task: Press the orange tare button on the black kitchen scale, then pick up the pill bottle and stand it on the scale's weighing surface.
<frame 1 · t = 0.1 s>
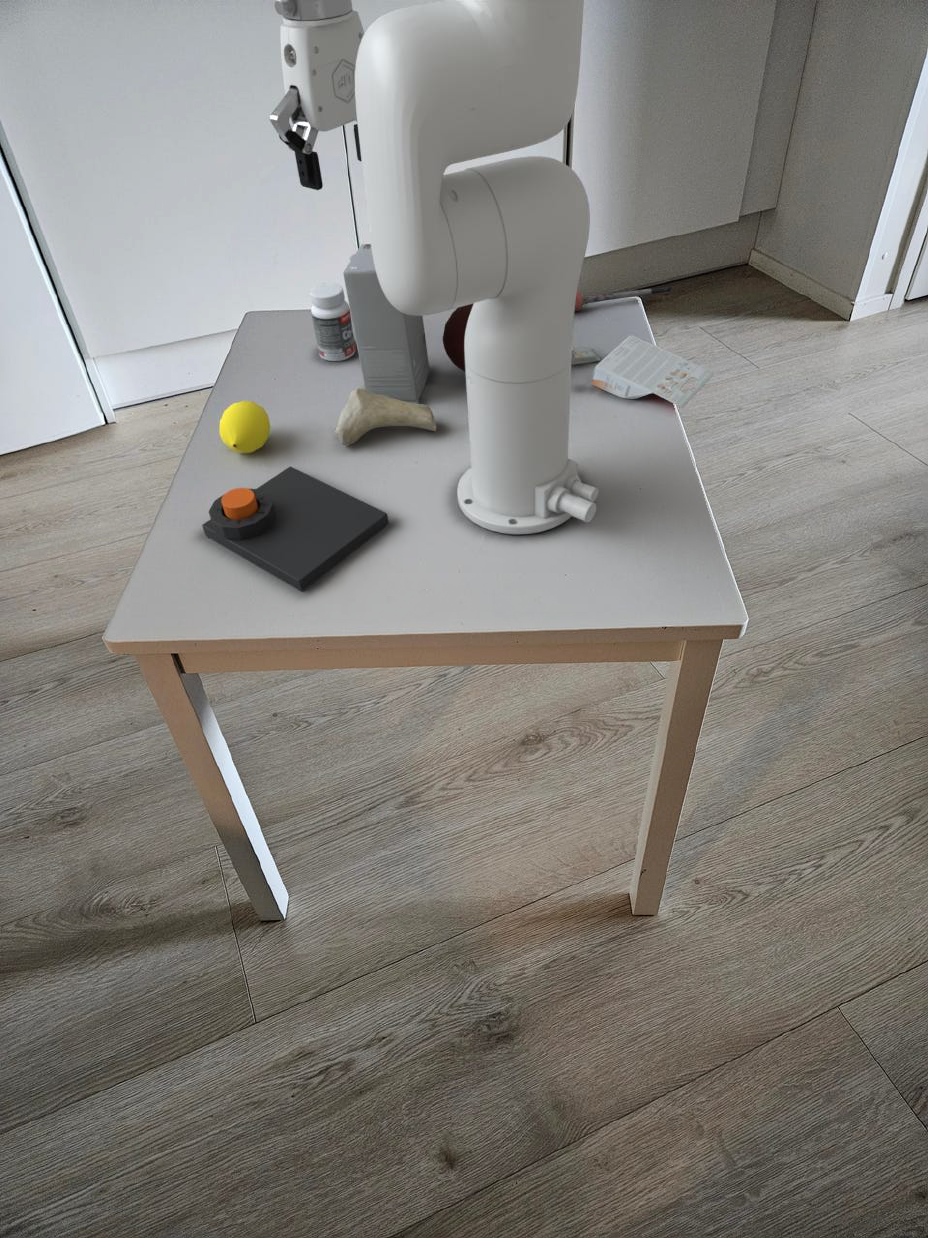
hand: (341, 174, 104), 19 cm above the table, tool pointing down, fingers open, 9 cm apart
granola bar: (568, 349, 107), point 1 cm above the table
pill bottle: (338, 354, 112), on the table
screwdriver: (589, 304, 114), point 1 cm above the table
lemon: (250, 449, 98), on the table
ink box: (608, 355, 103), point 2 cm above the table
cosmetic box: (397, 386, 105), on the table
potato: (494, 373, 106), on the table
cream lumpy piece: (389, 435, 98), on the table
tare button: (239, 503, 85), point 3 cm above the table, slide at 0.1 cm
toy horse: (575, 371, 105), on the table
scale: (297, 530, 87), on the table
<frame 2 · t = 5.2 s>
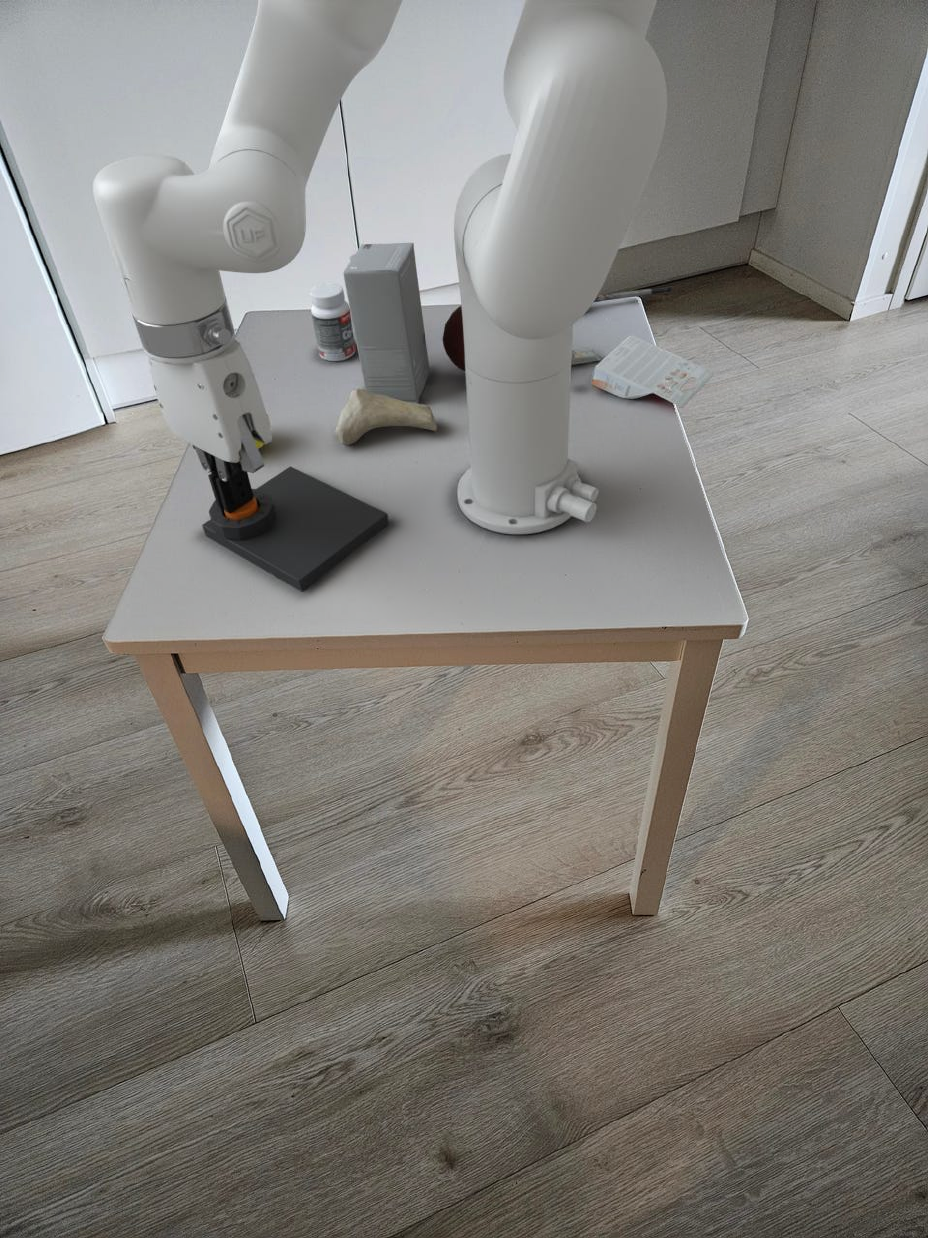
hand: (236, 503, 84), 4 cm above the table, tool pointing down, fingers closed
tare button: (241, 509, 85), point 3 cm above the table, slide at -0.6 cm, touching gripper
everything else where it was.
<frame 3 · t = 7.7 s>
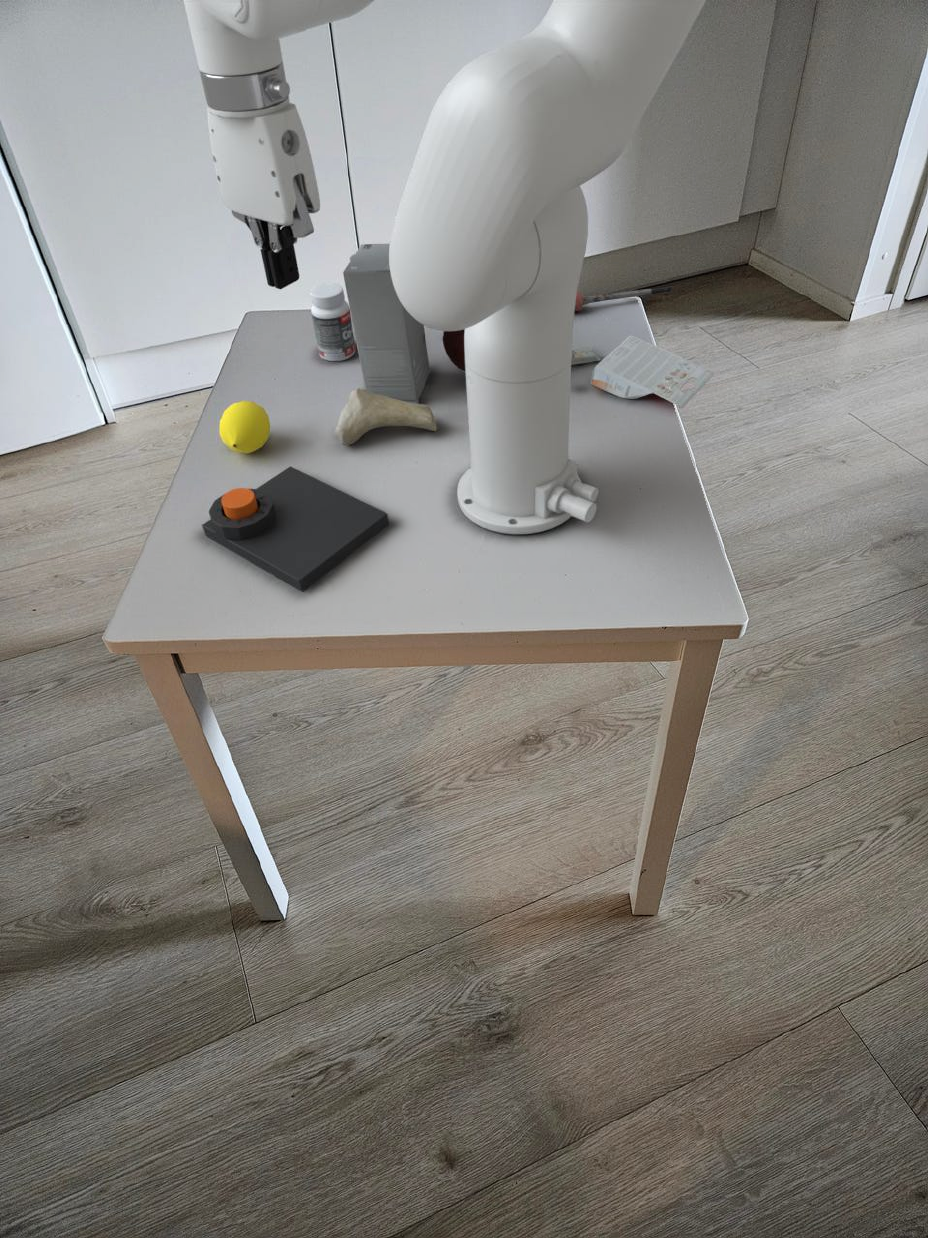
hand: (284, 282, 93), 15 cm above the table, tool pointing down, fingers closed
tare button: (239, 504, 85), point 3 cm above the table, slide at 0.1 cm
everything else where it was.
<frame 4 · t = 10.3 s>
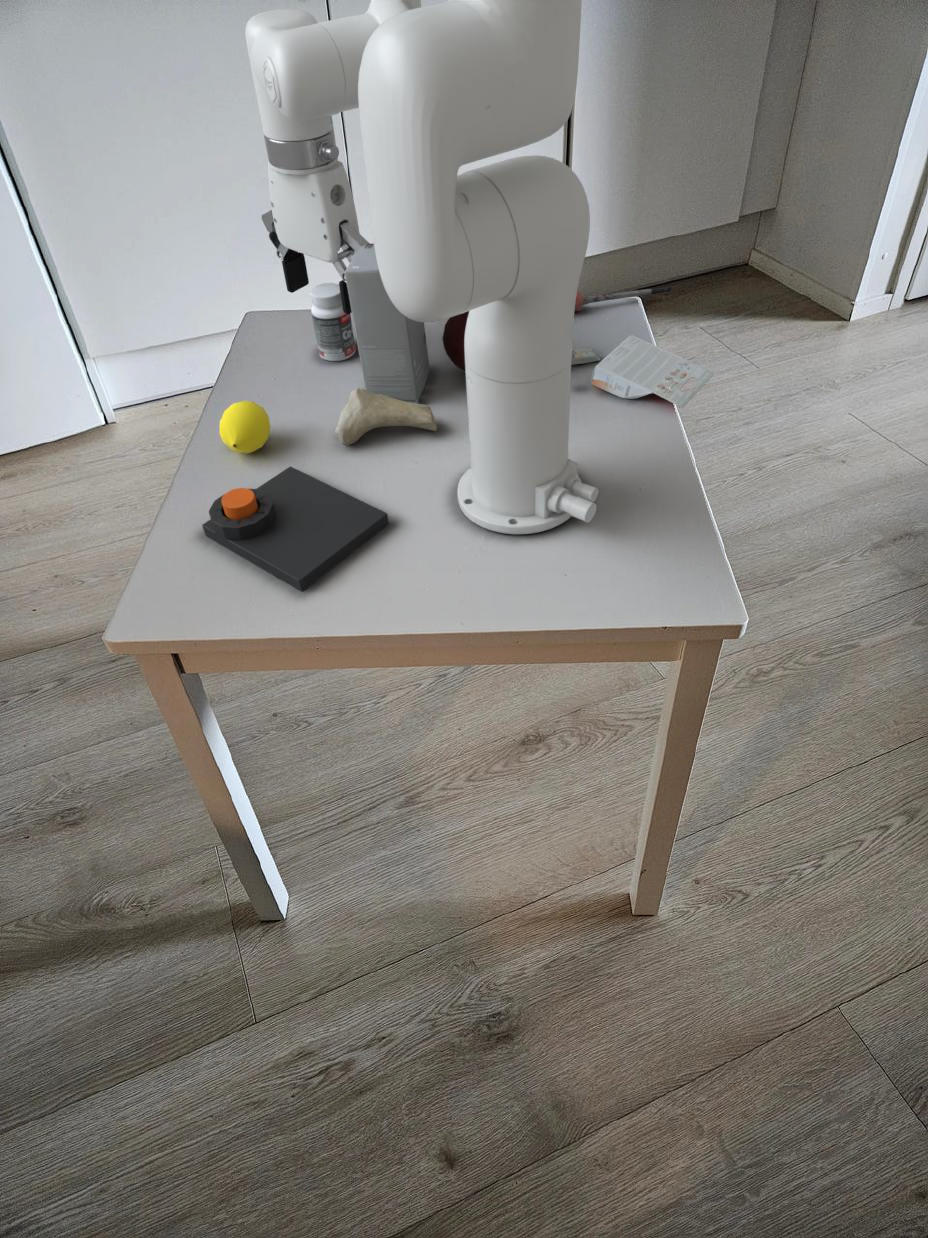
hand: (325, 298, 107), 7 cm above the table, tool pointing down, fingers open, 9 cm apart
cosmetic box: (396, 386, 105), on the table, touching gripper
everything else where it was.
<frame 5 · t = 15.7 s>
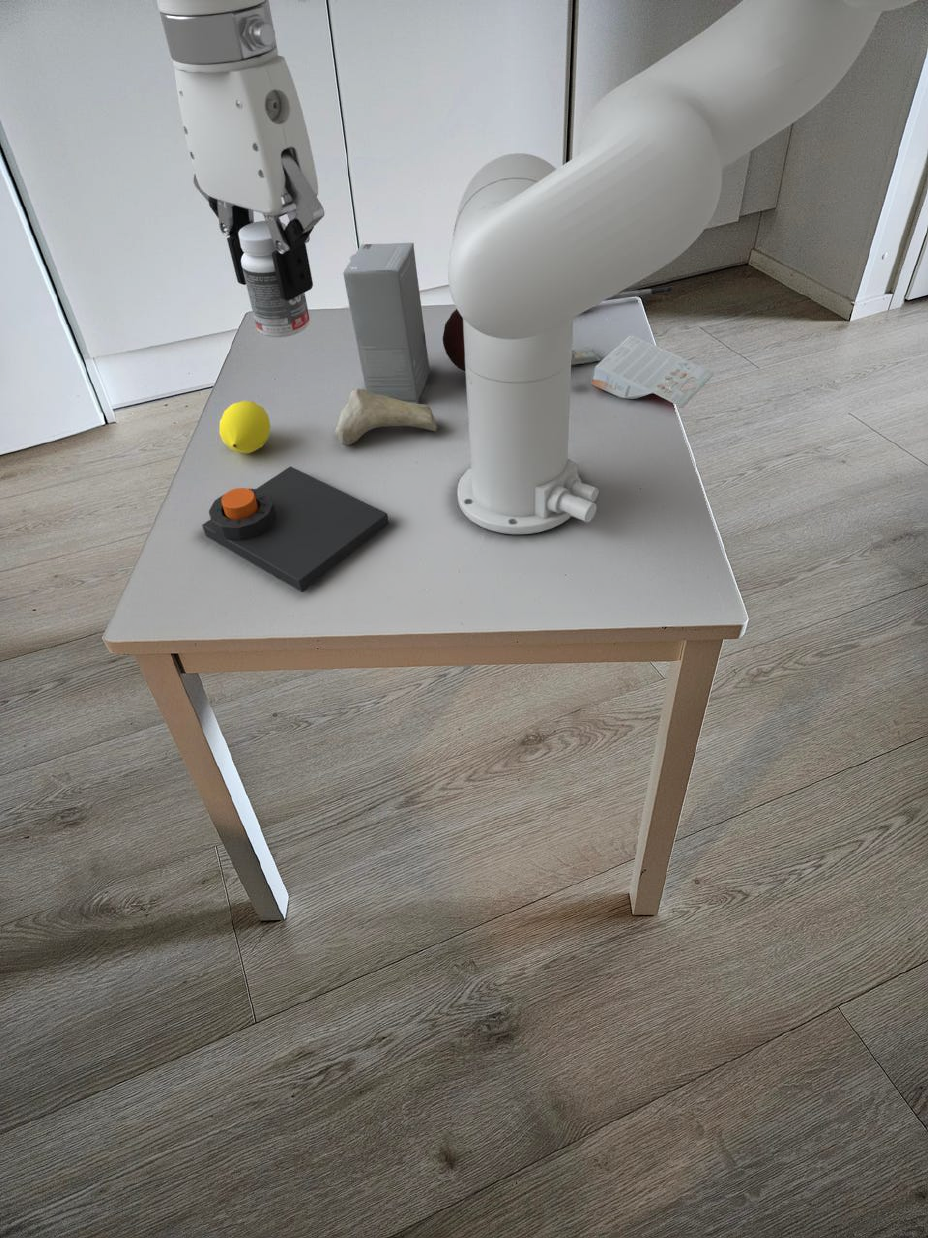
hand: (275, 283, 74), 23 cm above the table, tool pointing down, fingers closed on pill bottle, 4 cm apart
pill bottle: (284, 327, 77), point 19 cm above the table, touching gripper
cosmetic box: (397, 386, 105), on the table
everything else where it was.
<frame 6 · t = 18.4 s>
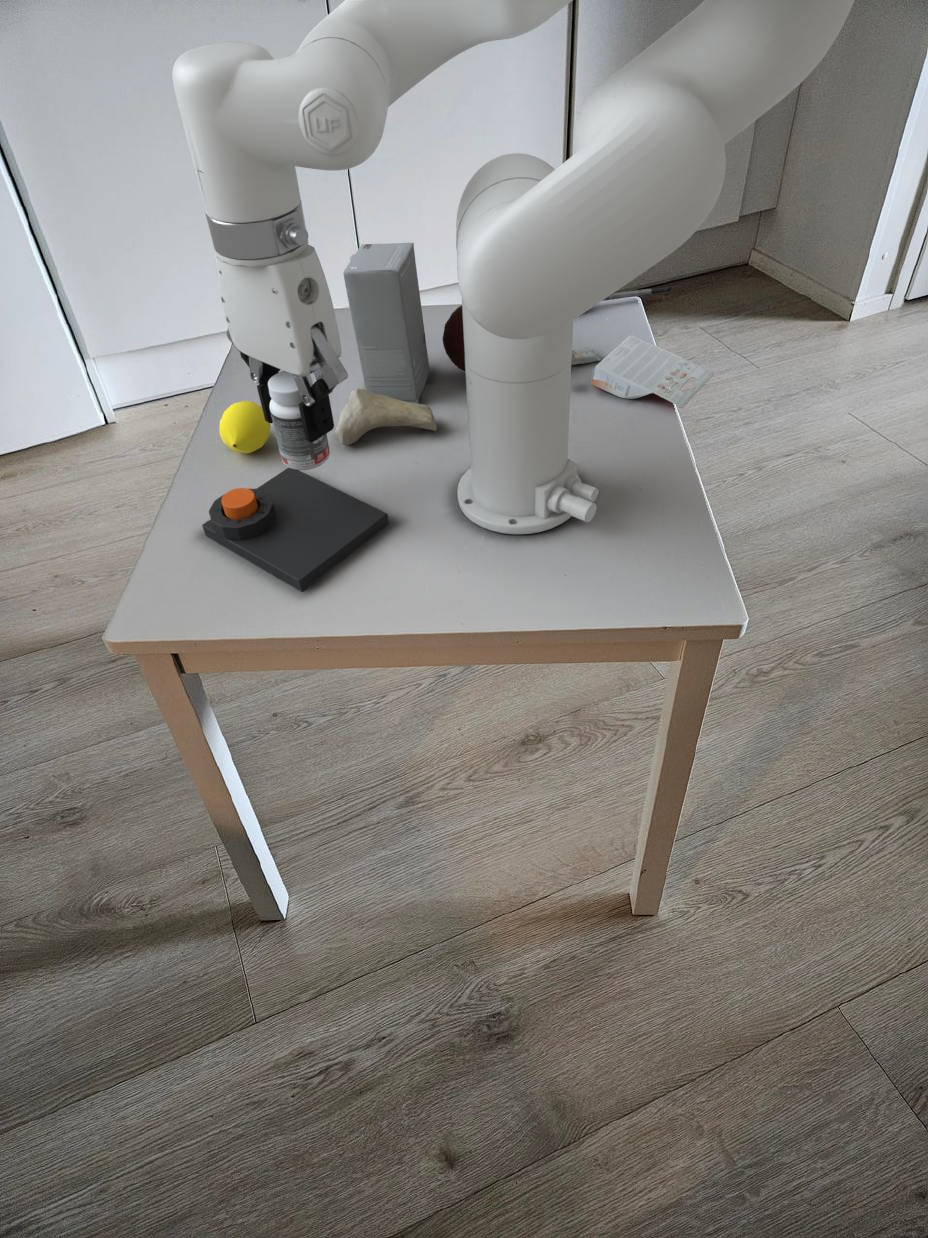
hand: (299, 423, 82), 10 cm above the table, tool pointing down, fingers closed on pill bottle, 4 cm apart
pill bottle: (306, 459, 85), point 6 cm above the table, touching gripper
everything else where it was.
when the fingers open (5 cm above the table, at t = 20.2 s): pill bottle stays where it is, resting on scale.
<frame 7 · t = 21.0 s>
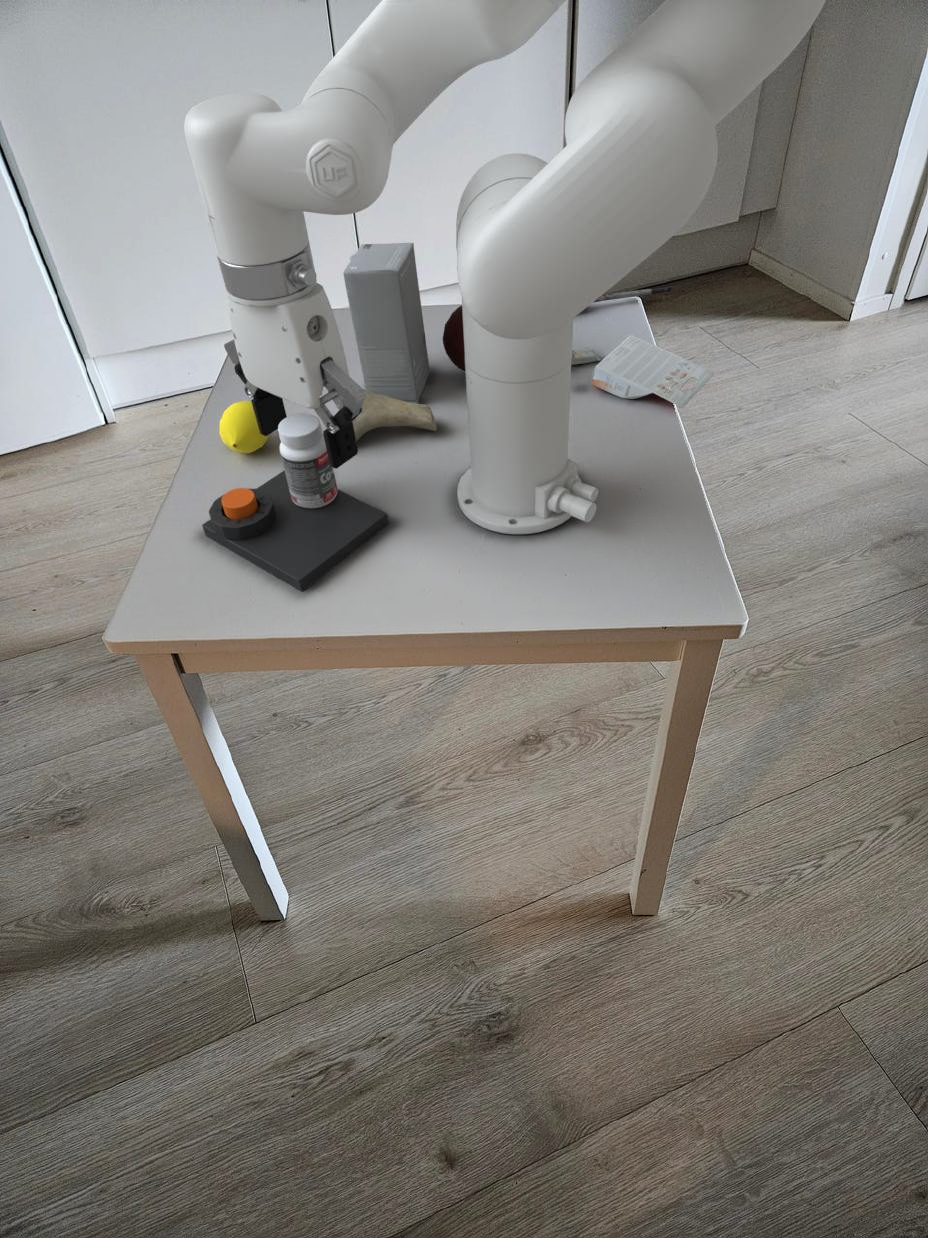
hand: (308, 444, 84), 7 cm above the table, tool pointing down, fingers open, 9 cm apart
pill bottle: (315, 497, 88), point 1 cm above the table, touching scale
everything else where it was.
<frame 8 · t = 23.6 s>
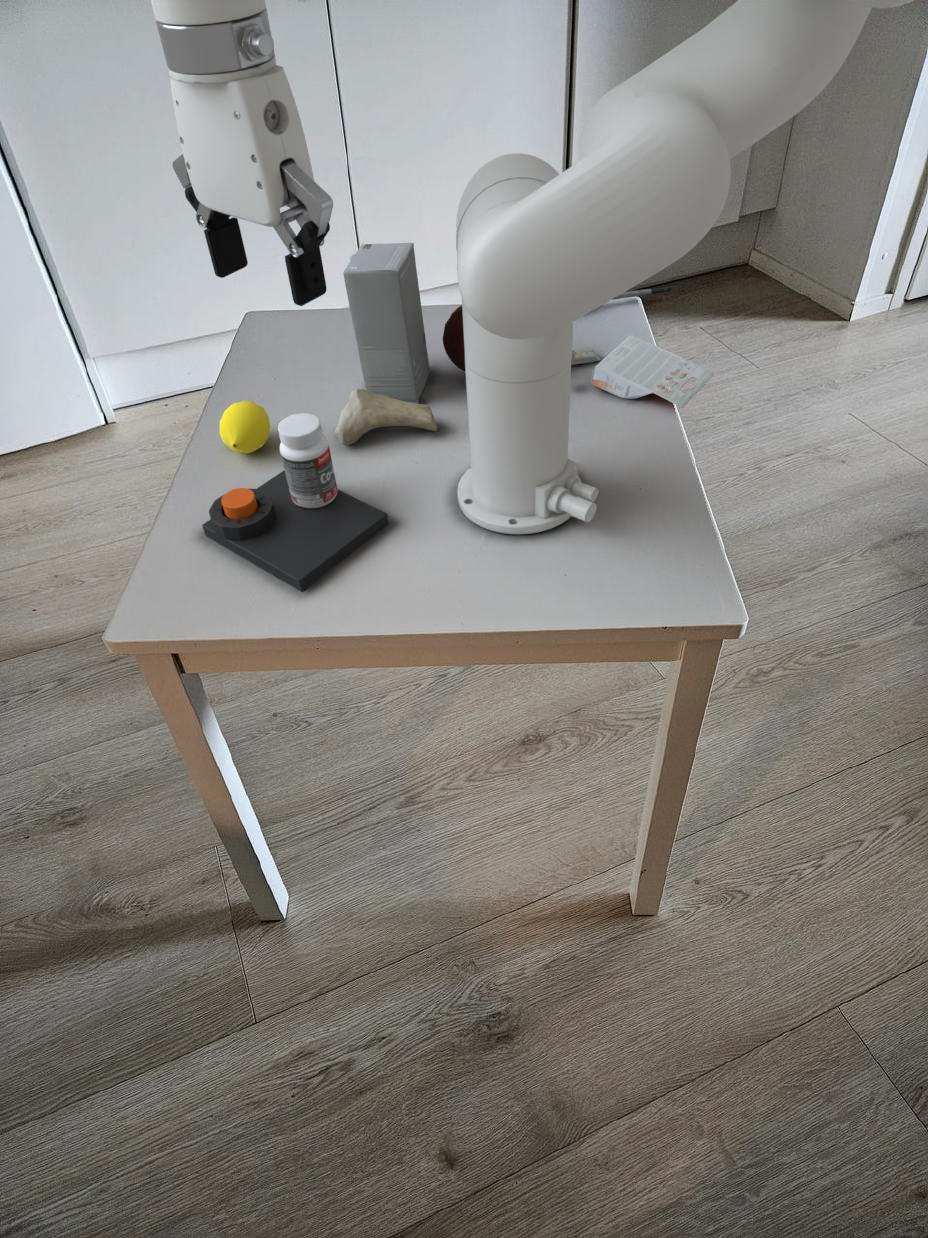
hand: (270, 284, 73), 23 cm above the table, tool pointing down, fingers open, 9 cm apart
nothing on the table moved.
at the end: tare button pushed in 0.9 cm at the most during the clip, back to where it started at the end; pill bottle inside the target area on the scale (4.1 cm from its centre), point 1.2 cm above the scale's base; pill bottle tilted 0° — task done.
